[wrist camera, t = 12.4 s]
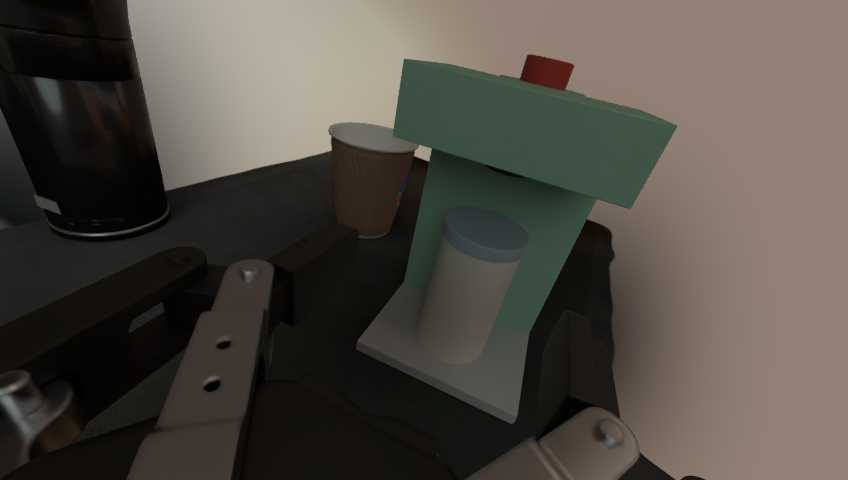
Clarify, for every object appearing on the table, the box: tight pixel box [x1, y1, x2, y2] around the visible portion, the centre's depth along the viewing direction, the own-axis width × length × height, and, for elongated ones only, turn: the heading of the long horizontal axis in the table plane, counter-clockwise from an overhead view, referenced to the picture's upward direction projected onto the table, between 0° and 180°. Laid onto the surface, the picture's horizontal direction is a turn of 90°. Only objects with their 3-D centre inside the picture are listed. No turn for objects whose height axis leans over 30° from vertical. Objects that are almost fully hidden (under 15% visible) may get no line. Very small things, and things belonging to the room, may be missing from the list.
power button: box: [520, 55, 574, 91], centre depth 24 cm, size 3×3×2 cm
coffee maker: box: [356, 59, 677, 424], centre depth 24 cm, size 9×13×21 cm
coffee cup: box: [328, 123, 419, 239], centre depth 41 cm, size 10×10×12 cm
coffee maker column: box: [404, 75, 596, 334], centre depth 30 cm, size 6×13×21 cm, turn 69°
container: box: [417, 207, 529, 365], centre depth 26 cm, size 6×6×11 cm
